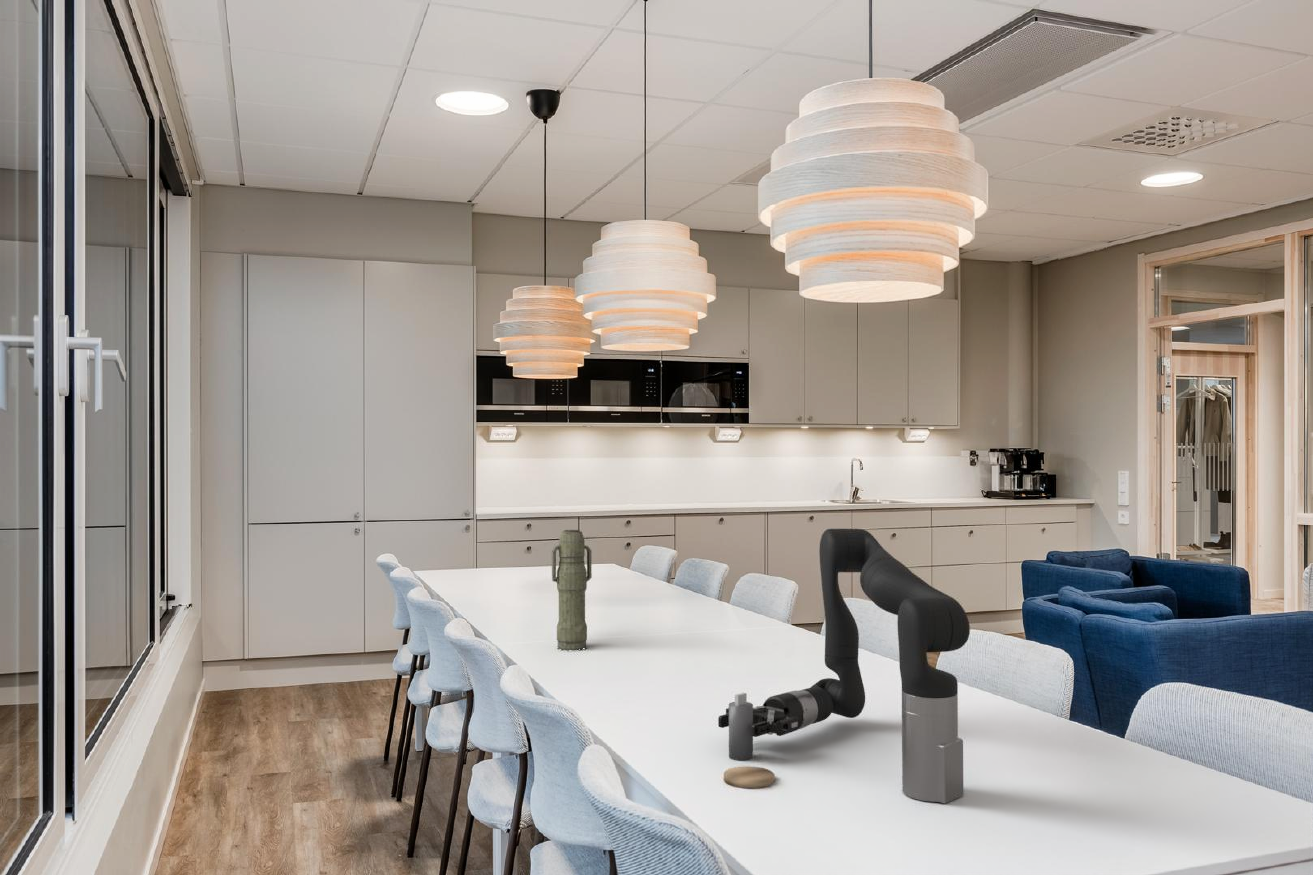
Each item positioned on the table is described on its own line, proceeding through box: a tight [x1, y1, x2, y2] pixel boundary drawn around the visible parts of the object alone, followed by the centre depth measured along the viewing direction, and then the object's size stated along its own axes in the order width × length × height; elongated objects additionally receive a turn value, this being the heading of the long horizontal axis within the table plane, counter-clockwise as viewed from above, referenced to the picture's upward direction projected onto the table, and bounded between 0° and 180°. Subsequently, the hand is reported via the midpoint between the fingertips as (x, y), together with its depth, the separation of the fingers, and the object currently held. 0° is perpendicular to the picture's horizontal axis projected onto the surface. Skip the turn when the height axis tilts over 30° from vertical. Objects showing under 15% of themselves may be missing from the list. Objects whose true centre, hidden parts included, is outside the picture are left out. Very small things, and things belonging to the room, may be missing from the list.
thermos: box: [551, 529, 593, 651], centre depth 298 cm, size 9×12×35 cm
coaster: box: [723, 765, 775, 789], centre depth 178 cm, size 9×9×1 cm
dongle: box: [728, 692, 754, 762], centre depth 191 cm, size 5×5×12 cm
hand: (736, 726), depth 190 cm, fingers open, 8 cm apart
